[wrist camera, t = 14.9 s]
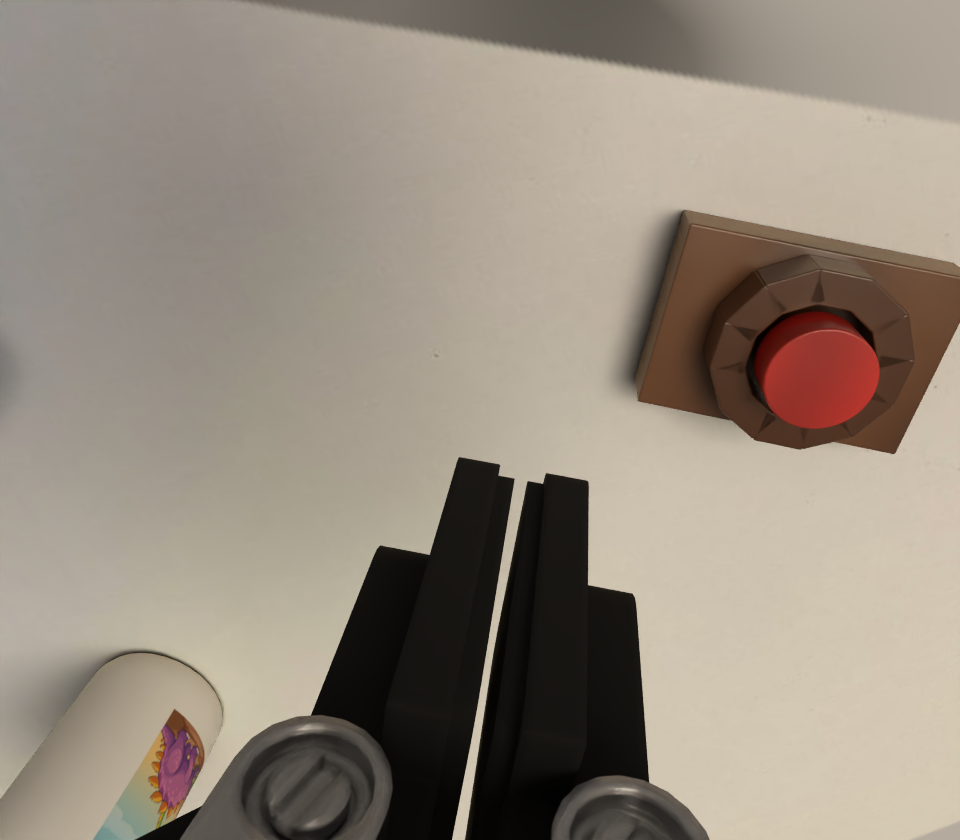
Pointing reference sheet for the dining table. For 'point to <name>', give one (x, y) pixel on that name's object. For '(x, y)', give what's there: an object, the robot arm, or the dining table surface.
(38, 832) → the milk bottle
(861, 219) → the dining table surface
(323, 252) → the dining table surface
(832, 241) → the button block
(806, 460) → the dining table surface
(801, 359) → the button
